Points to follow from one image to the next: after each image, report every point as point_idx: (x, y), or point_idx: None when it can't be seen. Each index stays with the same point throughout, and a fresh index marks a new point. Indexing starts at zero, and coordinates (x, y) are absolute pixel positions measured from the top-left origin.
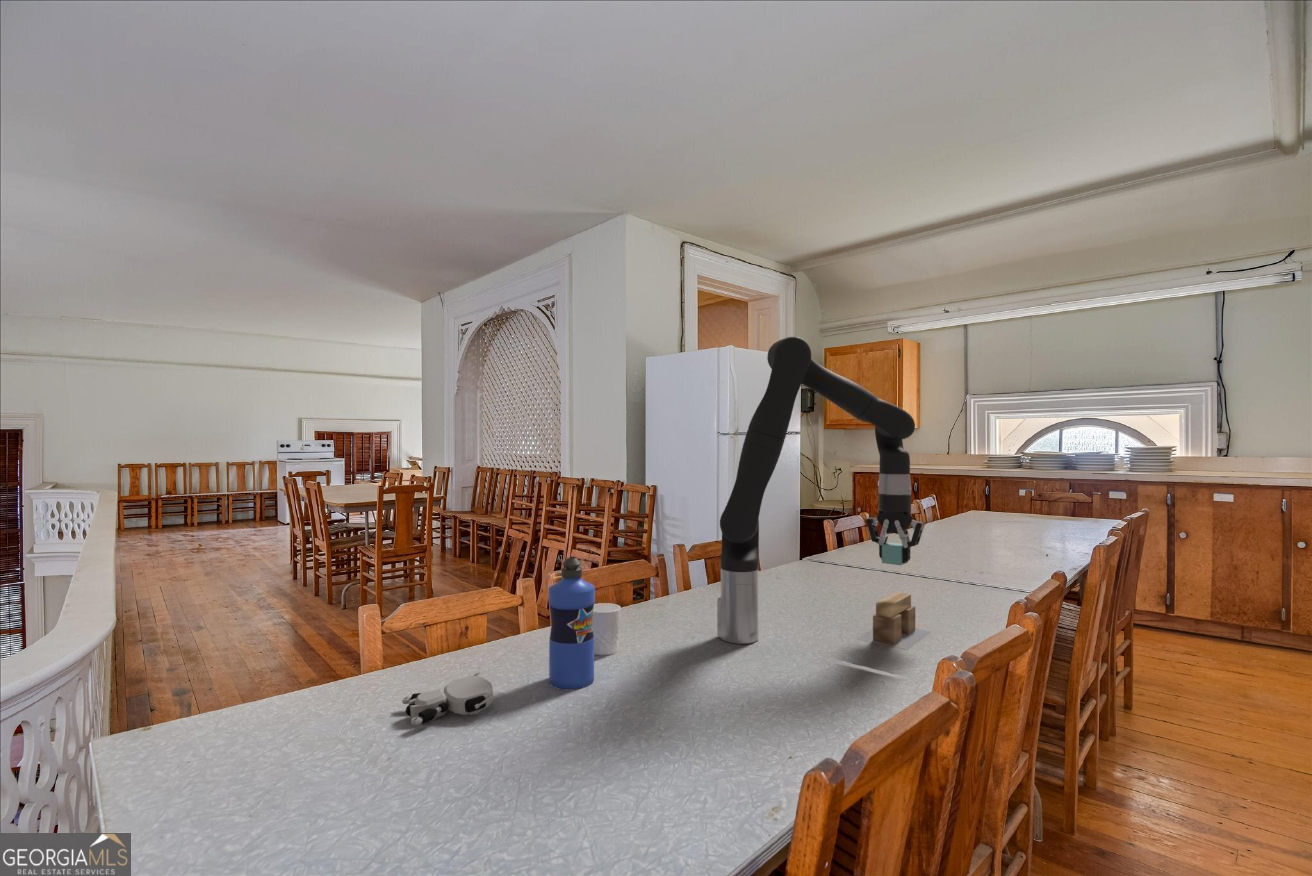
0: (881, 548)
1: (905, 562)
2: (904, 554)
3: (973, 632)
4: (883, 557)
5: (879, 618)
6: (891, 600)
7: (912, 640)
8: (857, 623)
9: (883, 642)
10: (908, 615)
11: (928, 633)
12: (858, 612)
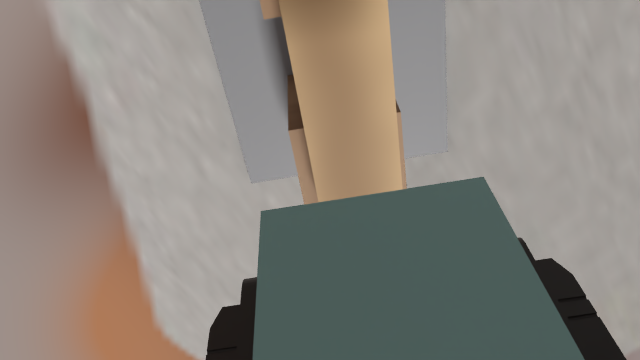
0: (583, 351)
1: (247, 291)
2: (239, 357)
3: (180, 292)
4: (487, 225)
5: None
6: (333, 41)
7: (229, 12)
8: (548, 86)
9: None
10: (288, 116)
11: (244, 153)
12: (593, 214)
